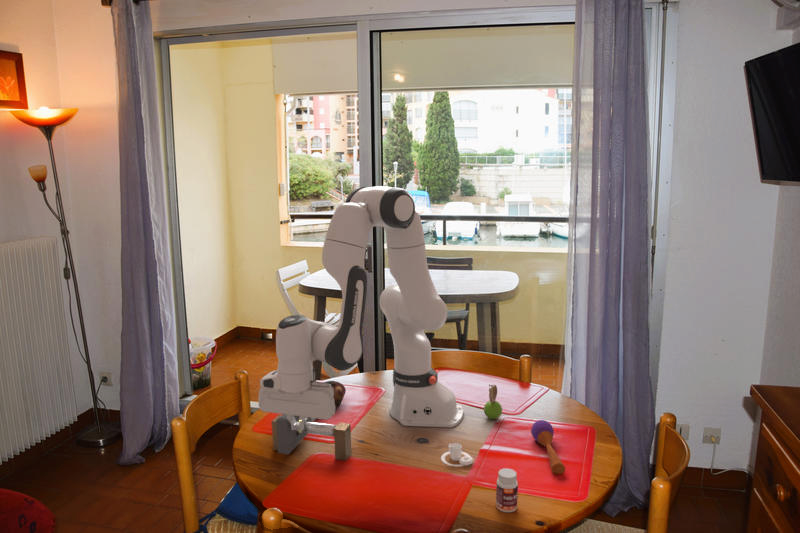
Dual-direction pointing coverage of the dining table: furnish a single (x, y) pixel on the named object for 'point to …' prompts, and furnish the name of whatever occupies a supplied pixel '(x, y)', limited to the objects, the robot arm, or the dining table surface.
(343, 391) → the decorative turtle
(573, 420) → the dining table surface
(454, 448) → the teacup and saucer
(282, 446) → the grey flat block
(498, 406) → the green feathered ball toy
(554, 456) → the purple and brown maraca
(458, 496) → the dining table surface
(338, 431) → the rod stand
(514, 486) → the pill bottle
